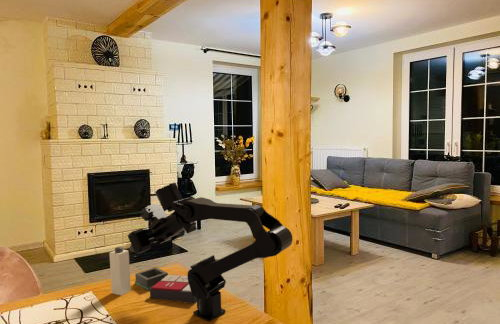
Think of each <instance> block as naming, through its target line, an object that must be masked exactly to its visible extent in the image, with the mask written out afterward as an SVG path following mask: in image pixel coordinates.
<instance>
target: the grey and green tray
mask: <svg viewBox="0 0 500 324" xmlns="http://www.w3.org/2000/svg"><path fill="white" fill-rule="evenodd" d="M134 275H135V276H134V277H135V280H134V284H136V285H137V286H139V287H141V288H142V289H144V290H146V291H150V289H151V288H152V287H153V286H154V285H155V284H157V283H158V282H159V281H161V280H162V279H163V278H165V277H166V276H167V275H169V274H168V272H166V271H165V270H162V269H160V268H158V267H156V266H155V267H152V268H149V269H146V270H143V271H140V272H137V273H135V274H134Z"/></svg>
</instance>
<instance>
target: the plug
mask: <svg viewBox="0 0 500 324" xmlns="http://www.w3.org/2000/svg"><path fill="white" fill-rule="evenodd" d="M129 252H130V250H127V249H124V247H123V246H117V247H114V251H110V252H108V253H109V267H110V270H109V271H110V285H111V287H110V288H111V294H114V295H117V296H123V295H125V294H127V293H129V292H131V271H130V253H129Z"/></svg>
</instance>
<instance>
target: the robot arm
mask: <svg viewBox="0 0 500 324" xmlns="http://www.w3.org/2000/svg"><path fill="white" fill-rule="evenodd" d="M154 194H155V196H156V198H157V200H158V201H159V203H154V204H150V205H147V206H146V207H144V208H143V209H141V213H140V217H141V218H142V219H143V221H144V222H148V223H149V225H148V227H149V230H151V234H149V235H148V234H147V231H146V230H145V229H143V228H138V229H136V230H132V231H130V232H129V233H128V235H127V237H128V240H129V242H130V246H129V250H128V251H129V252H131V253H135V254H136V255H139V254H142V253H145V252H148V251H149V250H150V249H152V244H157V243H158V245H160V244H162V243H167V242H173V241H175V240H178V239H180V238H182V237H184V236H185V232H186V234H189V233H192V232H195V231H197V222H202V221H206V220H219V221H220V220H221V221H228V222H229V221H230V222H240V223H241V222H242V223H246V224H247V225H248V227H249V229H250V232H251V234H252V235H251V236H253V238H254V241H253V242H252V243H250V244H248V245H246V246H244V247H242V248H240V249H238V250H236V251H234V252H232V253H229V254H227V255H226V256H223V257H221V258H218V259H217V258H216V257H215V255H214V254H213V255H211V256H209V257H207V258H204V259H202V260H200V261H198V262H197V263H195V264H192V265H191V266H190V269H189V270H188V271H187V275H186V276H188V283H189V286H190V289H191V292H192V295H193V296H195V297H196V298H197V302H196V310H194V311H193V315H194V316H197V317H200V318H201V319H203V320H206V321H208V322H210V321H211V320H213V319H216V318H217V317H219V316H221V315H223V314H224V313H226V309H225V308H222V292H221V291H220V290H221V289H224V288H225V287H226V282H227V281H226V279H225V278H224V276H223V274H224V273H227V272H229V271H231V270H234V269H235V268H238V267H240V266H243V265H245V264H247V263H249V262H251V261H253V260H255V259H268V258H270V257H275V256H278V255H279V254H281V253H282V252H283V251H285V250H286V249H288V248H289V247H291V246H292V244H293V234H292V232H291V231H290V229H288V228H287V227H286V226H284V224H282V223H281V222H280V220H279V219H278V218H276V217H274V216H273V215H272V214H270V213H268V212H267V210H266V209H265V208H264V207H263V206H261V205H259V204H253V205H252V204H251V205H250V204H236V203H235V204H234V203H223V202H222V203H220V202H215V201H214V200H212V199H209V198H206V197H201V196H200V197H197V198H193V197H186V198H183V196H182V194H181V192H180V190H179V187H178V185H177V183H176V182H172V183H169V184H167V185H165V186H163V187H160V188H158V189H157V190H155V193H154ZM159 204H160V205H159ZM167 211H168V213H170V214H167V213H166V212H167ZM171 212H172V213H171ZM265 228H266V229H268V230H266V229H265ZM205 285H206V286H205Z"/></svg>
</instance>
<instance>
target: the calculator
mask: <svg viewBox="0 0 500 324" xmlns="http://www.w3.org/2000/svg"><path fill="white" fill-rule="evenodd" d="M205 286H206V285H205ZM149 295H150V296H149V297H150V299H155V300H162V301H172V302H180V303H184V302H186V304H192V303H193V304H194V303H195V304H197V298H196V297H195V296H193V295H192V292H191V289H190V286H189V283H188V276H187V275H177V274H176V275H175V274H168V275H167V276H166V277H165V278H163V279H162V280H161V281H159V282H158V283H157V284H155V285H154V286H153V287H152V288H151V289H150V290H149ZM193 304H192V305H193Z"/></svg>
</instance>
